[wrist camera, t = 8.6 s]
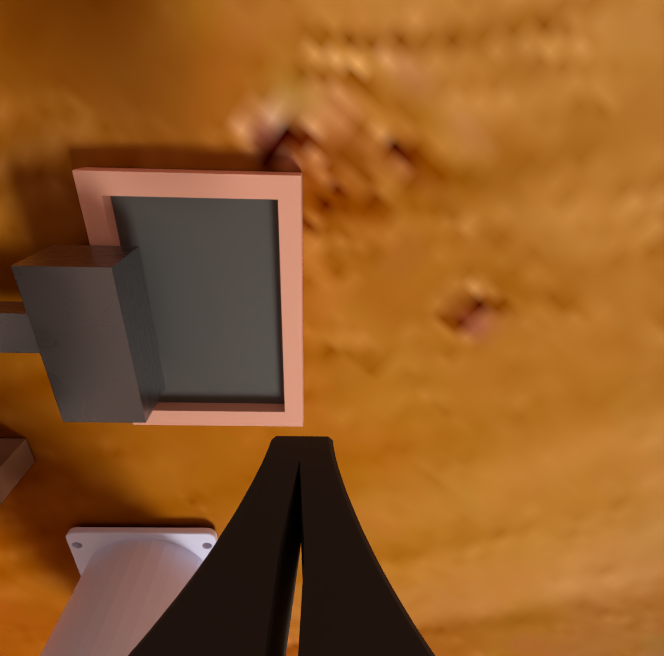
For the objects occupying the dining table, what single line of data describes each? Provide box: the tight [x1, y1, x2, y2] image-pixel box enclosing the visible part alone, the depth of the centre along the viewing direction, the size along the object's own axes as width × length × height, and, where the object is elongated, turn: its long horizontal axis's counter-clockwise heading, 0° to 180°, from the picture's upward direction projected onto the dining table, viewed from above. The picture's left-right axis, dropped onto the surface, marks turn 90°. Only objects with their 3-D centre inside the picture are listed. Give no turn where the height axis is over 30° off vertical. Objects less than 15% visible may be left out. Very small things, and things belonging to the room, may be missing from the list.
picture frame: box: [72, 167, 304, 426], centre depth 17 cm, size 11×8×1 cm
